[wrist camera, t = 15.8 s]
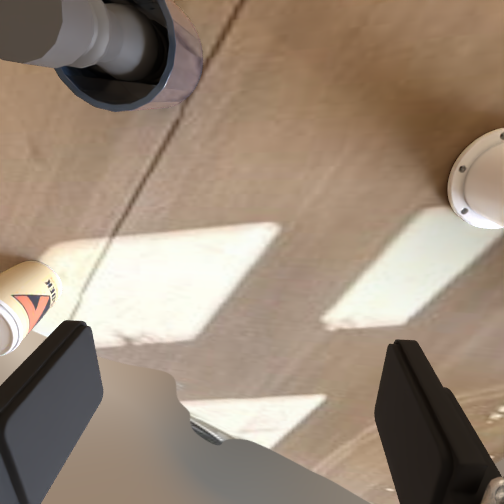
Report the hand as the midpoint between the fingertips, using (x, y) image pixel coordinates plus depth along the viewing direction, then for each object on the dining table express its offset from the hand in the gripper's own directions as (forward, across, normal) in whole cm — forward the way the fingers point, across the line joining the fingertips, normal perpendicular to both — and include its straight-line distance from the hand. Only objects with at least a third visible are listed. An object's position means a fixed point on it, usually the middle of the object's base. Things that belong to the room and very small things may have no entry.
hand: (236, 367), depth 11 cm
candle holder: (+37, +13, -12) cm, 41 cm away
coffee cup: (+37, +35, +19) cm, 54 cm away
